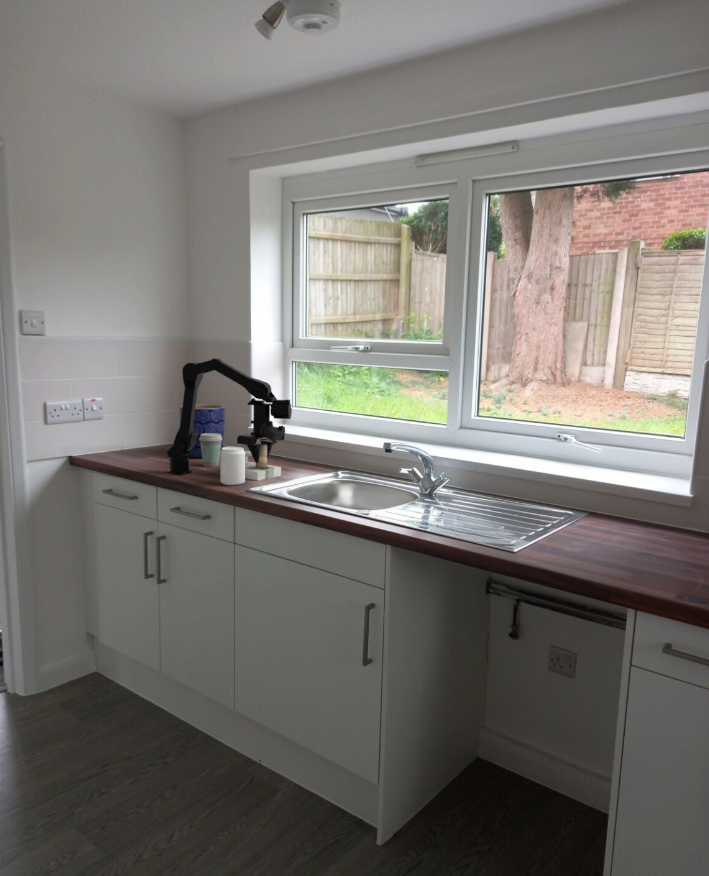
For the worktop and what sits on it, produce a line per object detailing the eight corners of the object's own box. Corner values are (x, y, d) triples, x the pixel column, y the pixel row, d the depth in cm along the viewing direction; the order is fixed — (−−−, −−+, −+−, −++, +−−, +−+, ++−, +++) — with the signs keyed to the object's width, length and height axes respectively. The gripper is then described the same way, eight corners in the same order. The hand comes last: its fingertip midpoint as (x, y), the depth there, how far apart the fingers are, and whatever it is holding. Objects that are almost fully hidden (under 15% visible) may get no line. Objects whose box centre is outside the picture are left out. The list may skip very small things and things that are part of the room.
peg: (253, 467, 242) (253, 445, 240) (261, 465, 245) (261, 443, 244) (261, 468, 239) (261, 446, 238) (269, 467, 242) (269, 445, 241)
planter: (174, 453, 284) (174, 404, 281) (218, 451, 292) (218, 403, 289) (185, 461, 268) (184, 408, 265) (230, 458, 276) (231, 408, 273)
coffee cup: (198, 463, 263) (198, 433, 261) (221, 463, 265) (221, 432, 264) (200, 468, 255) (199, 436, 253) (223, 467, 257) (223, 435, 256)
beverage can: (239, 486, 225) (239, 450, 223) (216, 485, 227) (216, 449, 225) (248, 481, 233) (248, 447, 231) (226, 480, 235) (225, 445, 233)
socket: (225, 474, 245) (225, 466, 244) (248, 469, 254) (248, 461, 254) (259, 480, 235) (259, 472, 235) (282, 475, 245) (282, 467, 244)
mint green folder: (225, 472, 247) (225, 453, 246) (244, 468, 255) (244, 450, 254) (238, 475, 244) (238, 455, 243) (257, 471, 252) (257, 452, 251)
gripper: (259, 422, 227) (259, 468, 230) (296, 418, 242) (295, 461, 245) (236, 419, 234) (235, 464, 236) (273, 415, 249) (272, 457, 251)
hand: (261, 461), depth 242 cm, fingers closed on peg, 4 cm apart
